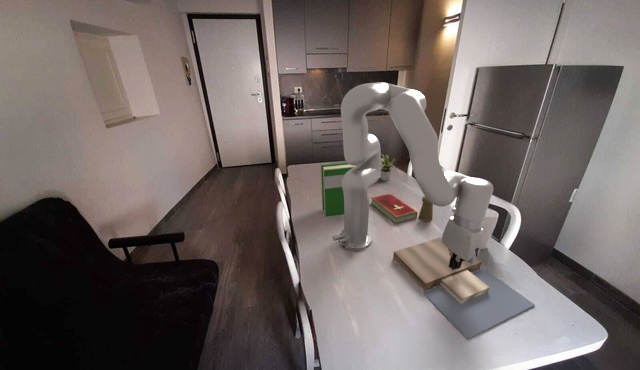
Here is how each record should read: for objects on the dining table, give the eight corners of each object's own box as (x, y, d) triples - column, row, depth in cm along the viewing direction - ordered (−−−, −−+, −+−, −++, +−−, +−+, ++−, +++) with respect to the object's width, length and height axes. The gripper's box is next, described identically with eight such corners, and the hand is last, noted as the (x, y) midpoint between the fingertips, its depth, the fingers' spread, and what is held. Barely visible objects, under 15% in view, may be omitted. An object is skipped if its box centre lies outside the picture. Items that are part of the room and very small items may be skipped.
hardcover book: (389, 199, 134) (390, 192, 132) (416, 218, 116) (417, 210, 114) (370, 204, 130) (370, 196, 128) (395, 224, 112) (396, 216, 110)
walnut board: (424, 290, 78) (425, 283, 76) (393, 258, 91) (393, 251, 90) (479, 268, 85) (481, 261, 84) (443, 242, 99) (444, 235, 97)
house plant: (368, 176, 163) (369, 152, 156) (387, 173, 166) (389, 149, 159) (379, 184, 150) (381, 159, 143) (399, 181, 154) (402, 156, 147)
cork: (423, 222, 112) (427, 200, 107) (415, 215, 117) (418, 194, 113) (435, 219, 113) (439, 198, 109) (426, 213, 119) (430, 192, 114)
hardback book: (325, 216, 119) (324, 170, 109) (322, 209, 126) (320, 164, 116) (360, 212, 122) (362, 166, 112) (355, 205, 128) (357, 161, 118)
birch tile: (460, 303, 72) (462, 298, 71) (439, 284, 79) (440, 279, 78) (488, 292, 76) (489, 287, 75) (465, 274, 83) (466, 269, 82)
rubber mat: (467, 339, 63) (467, 338, 63) (422, 292, 77) (423, 291, 77) (534, 305, 71) (534, 304, 71) (483, 268, 85) (483, 267, 85)
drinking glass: (481, 239, 99) (490, 207, 93) (492, 250, 93) (503, 216, 87) (464, 240, 99) (473, 208, 93) (475, 251, 93) (484, 217, 87)
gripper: (438, 209, 77) (427, 255, 85) (481, 237, 64) (465, 288, 72) (456, 205, 79) (444, 250, 87) (501, 230, 67) (483, 280, 75)
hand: (454, 267), depth 80 cm, fingers closed
